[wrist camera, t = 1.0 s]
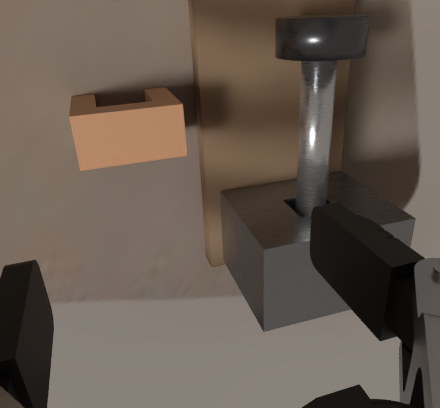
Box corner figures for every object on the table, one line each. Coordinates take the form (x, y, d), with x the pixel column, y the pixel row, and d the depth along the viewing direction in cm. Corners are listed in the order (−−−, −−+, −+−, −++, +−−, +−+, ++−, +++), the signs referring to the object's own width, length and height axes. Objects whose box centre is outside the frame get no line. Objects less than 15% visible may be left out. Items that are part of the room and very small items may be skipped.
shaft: (261, 18, 24) (300, 20, 20) (337, 13, 25) (390, 14, 21) (261, 202, 30) (292, 236, 25) (324, 191, 31) (364, 221, 26)
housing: (219, 190, 30) (263, 249, 23) (340, 170, 33) (415, 218, 25) (223, 259, 33) (263, 331, 26) (334, 236, 35) (401, 296, 28)
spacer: (71, 96, 26) (69, 116, 21) (165, 87, 28) (182, 104, 23) (80, 142, 28) (80, 170, 23) (169, 130, 29) (187, 155, 24)
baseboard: (181, -106, 24) (186, -112, 22) (351, -103, 26) (365, -109, 25) (206, 257, 34) (211, 267, 33) (325, 233, 37) (334, 241, 36)
